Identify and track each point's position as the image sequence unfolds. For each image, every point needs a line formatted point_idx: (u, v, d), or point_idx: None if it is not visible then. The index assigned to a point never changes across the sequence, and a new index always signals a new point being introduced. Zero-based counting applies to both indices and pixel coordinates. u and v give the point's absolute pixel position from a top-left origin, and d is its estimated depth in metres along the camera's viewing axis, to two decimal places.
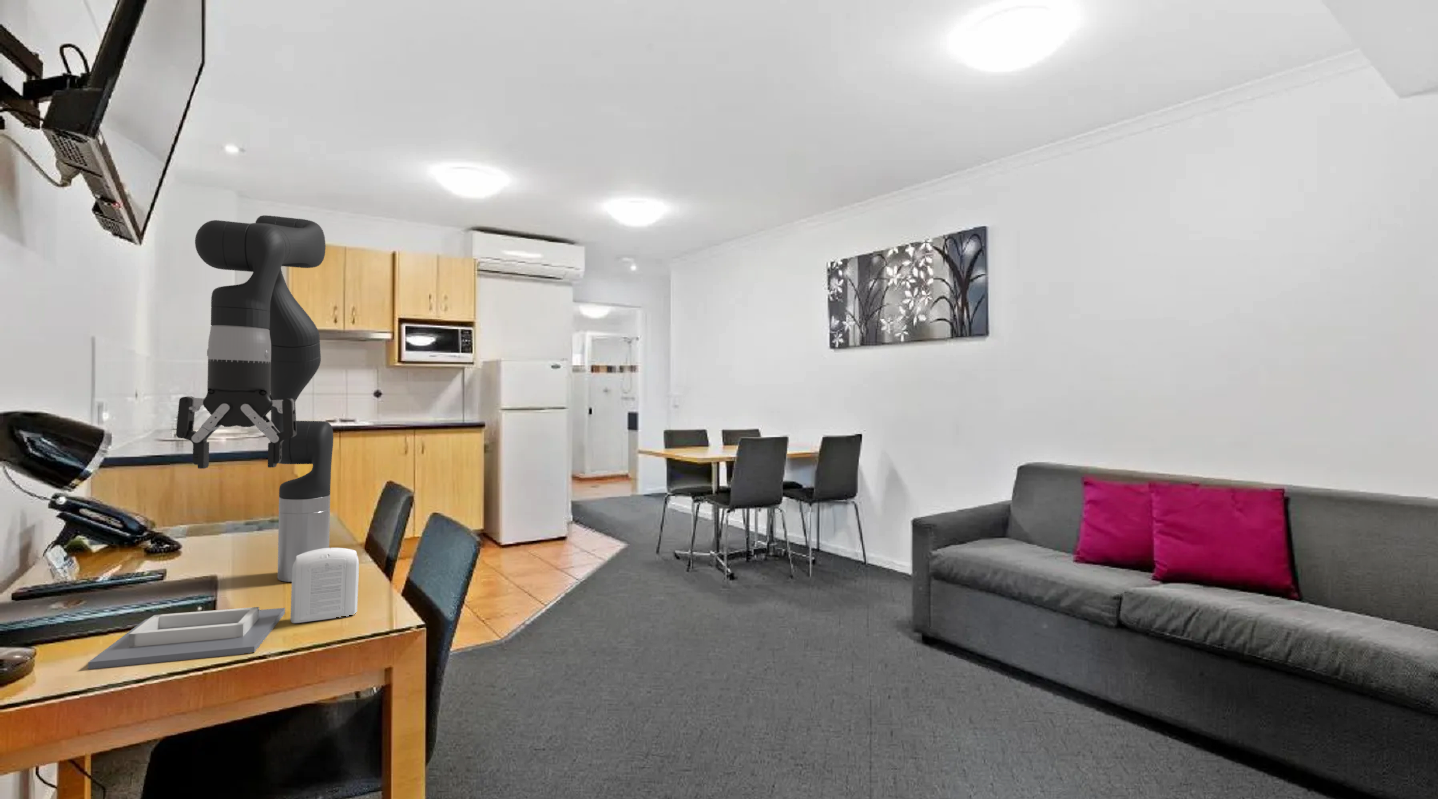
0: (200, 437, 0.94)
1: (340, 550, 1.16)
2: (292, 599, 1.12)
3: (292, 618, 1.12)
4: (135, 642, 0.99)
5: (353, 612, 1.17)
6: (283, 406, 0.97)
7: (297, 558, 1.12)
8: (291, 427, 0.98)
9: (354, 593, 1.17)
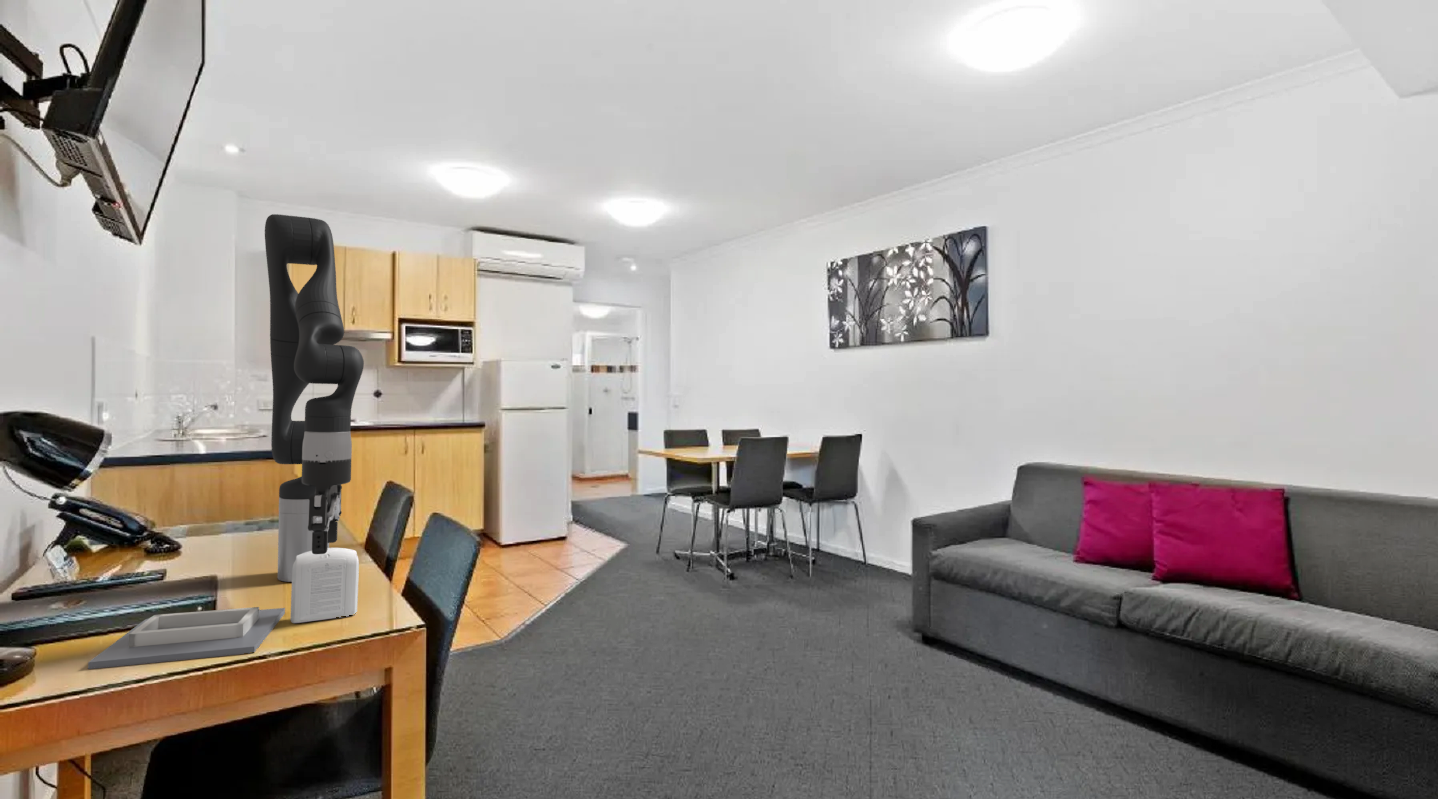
0: (328, 526, 1.12)
1: (340, 550, 1.16)
2: (292, 599, 1.12)
3: (292, 618, 1.12)
4: (135, 642, 0.99)
5: (353, 612, 1.17)
6: (340, 490, 1.21)
7: (297, 558, 1.12)
8: None
9: (354, 593, 1.17)
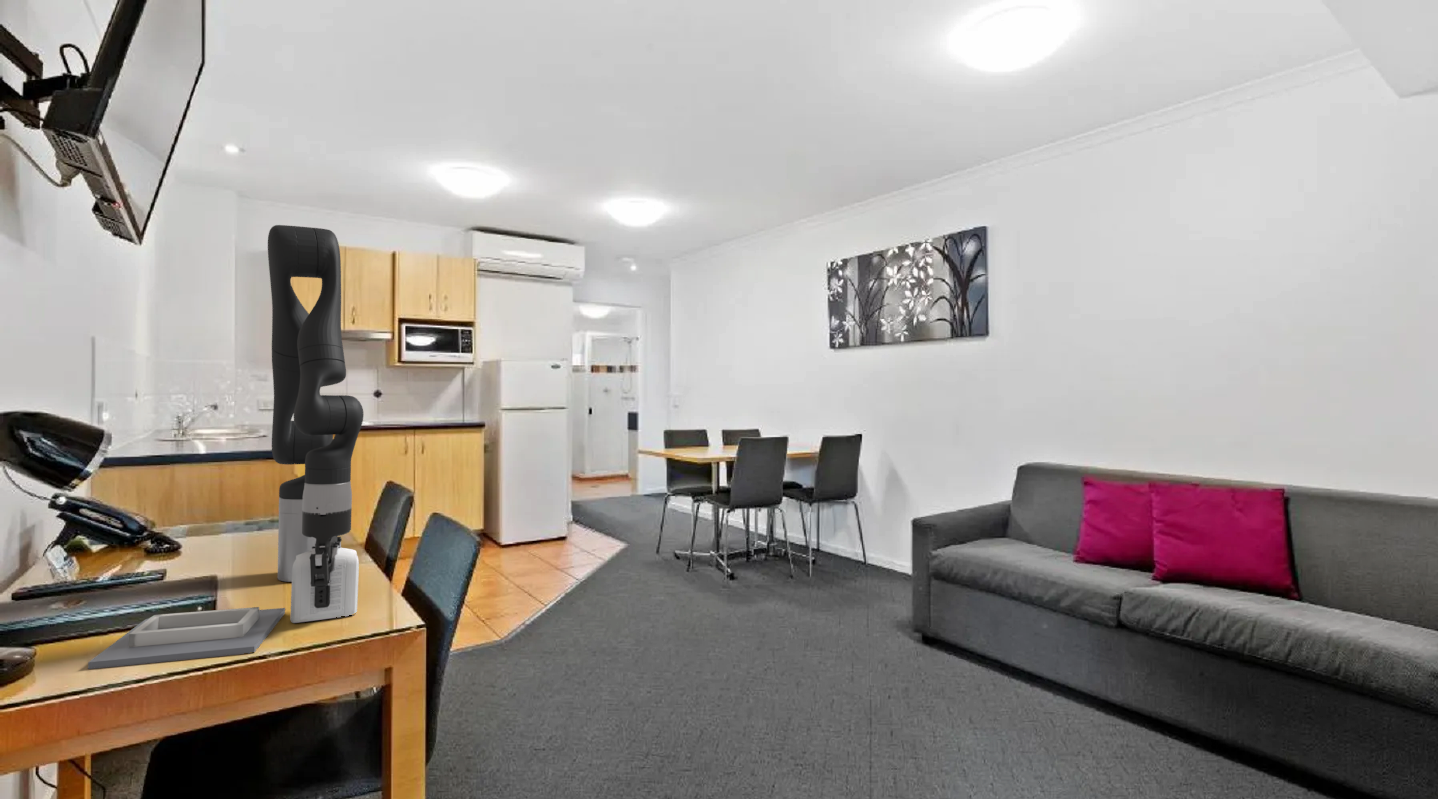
0: (330, 580, 1.14)
1: (340, 550, 1.16)
2: (292, 599, 1.12)
3: (292, 617, 1.12)
4: (135, 642, 0.99)
5: (353, 612, 1.17)
6: None
7: (297, 558, 1.12)
8: None
9: (354, 593, 1.17)
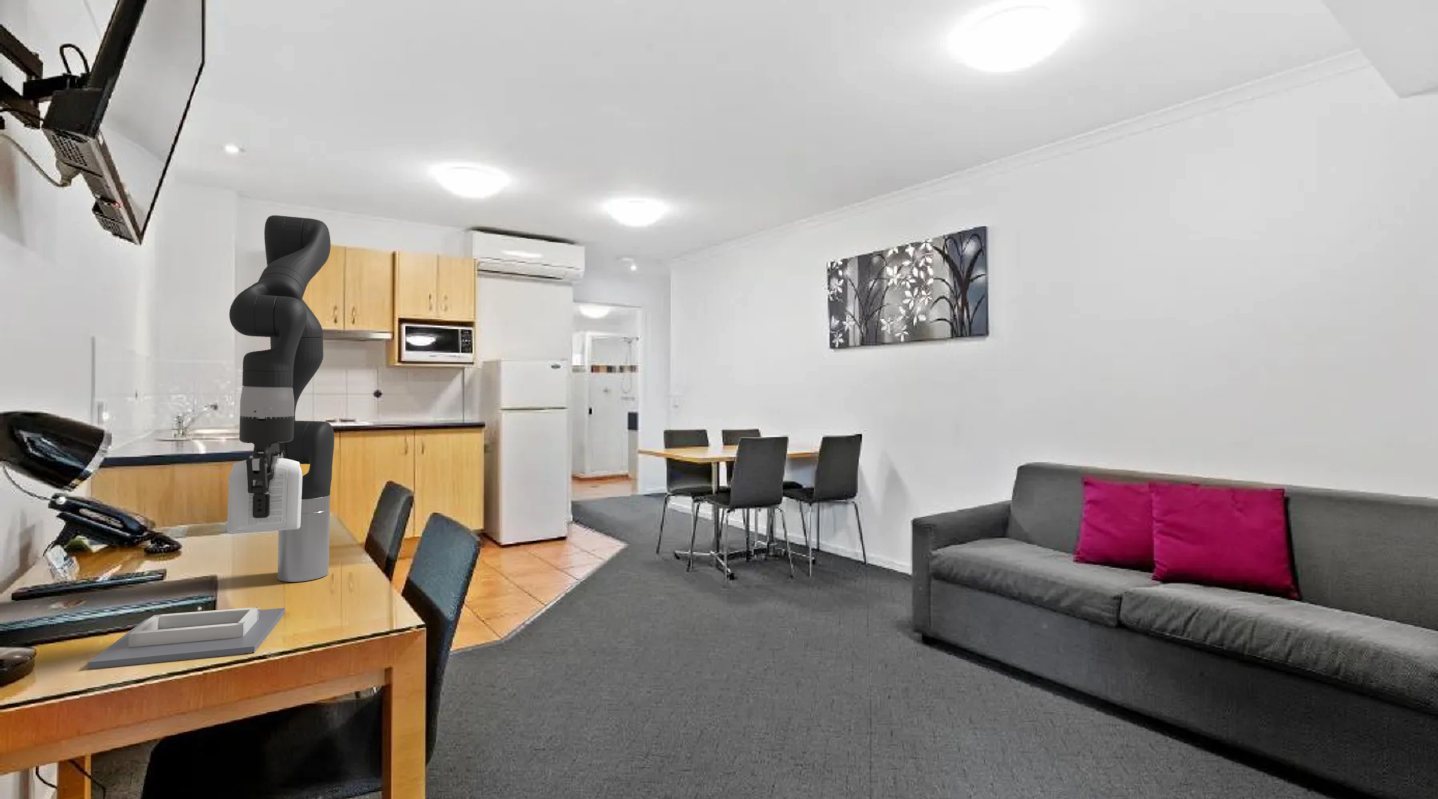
0: (270, 489, 1.08)
1: (281, 459, 1.10)
2: (229, 508, 1.06)
3: (229, 528, 1.06)
4: (135, 642, 0.99)
5: (295, 525, 1.11)
6: (282, 456, 1.15)
7: (234, 465, 1.06)
8: None
9: (297, 505, 1.11)
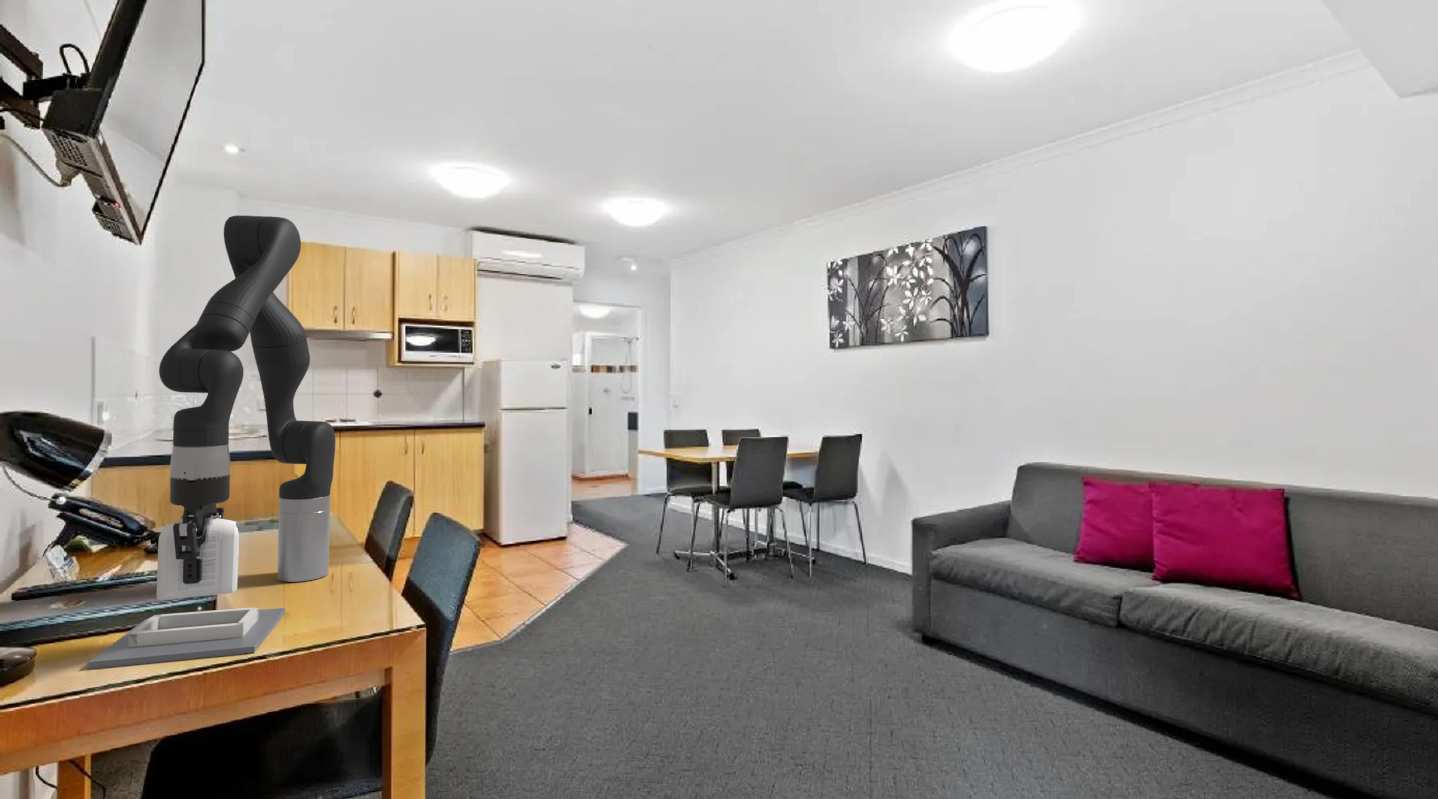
0: (202, 553, 1.03)
1: (215, 520, 1.05)
2: (158, 574, 1.01)
3: (158, 594, 1.01)
4: (135, 642, 0.99)
5: (230, 589, 1.06)
6: (221, 514, 1.10)
7: (163, 528, 1.01)
8: None
9: (232, 568, 1.06)
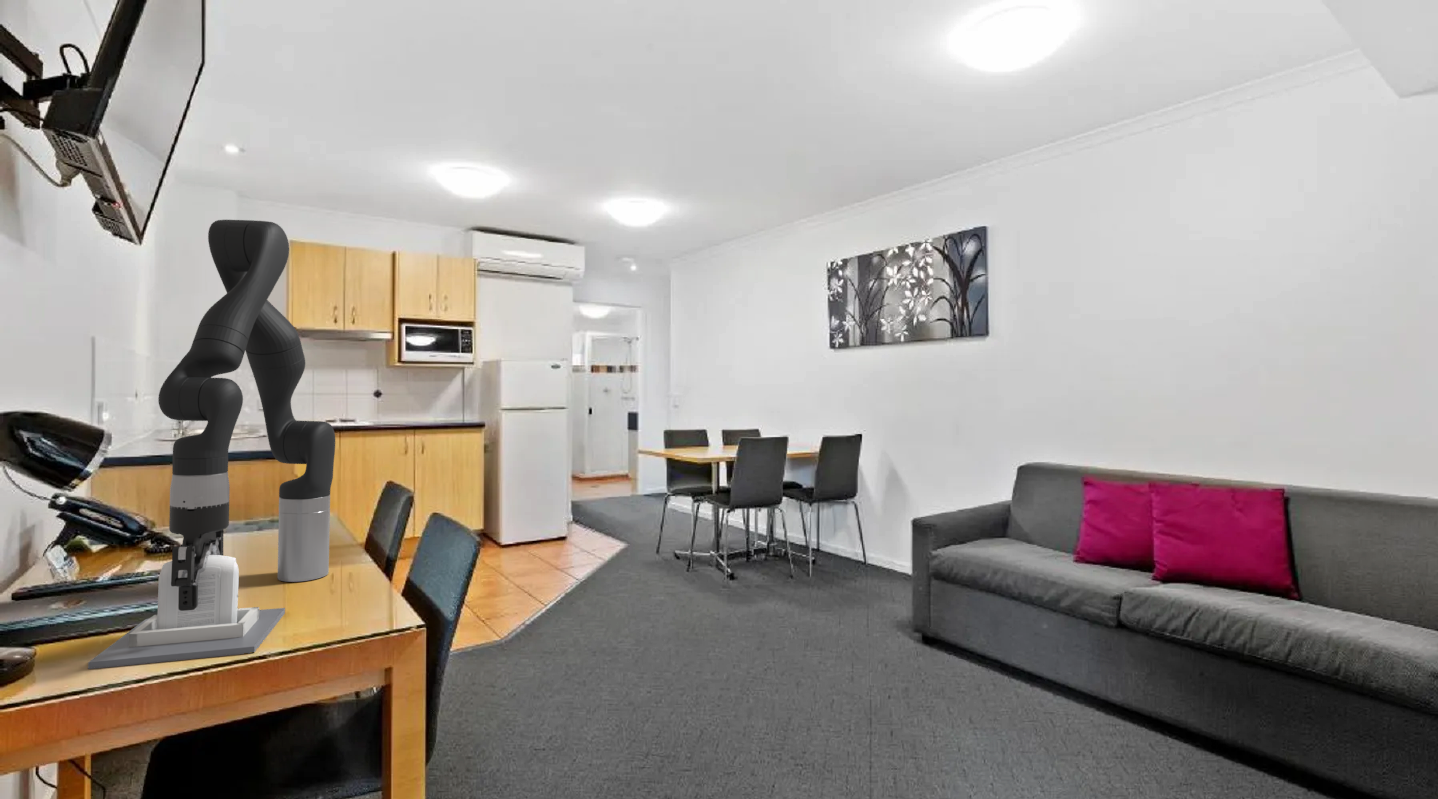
0: (197, 579, 1.01)
1: (215, 557, 1.05)
2: (158, 611, 1.02)
3: None
4: (135, 642, 0.99)
5: None
6: (221, 535, 1.10)
7: (163, 566, 1.02)
8: None
9: (231, 605, 1.06)
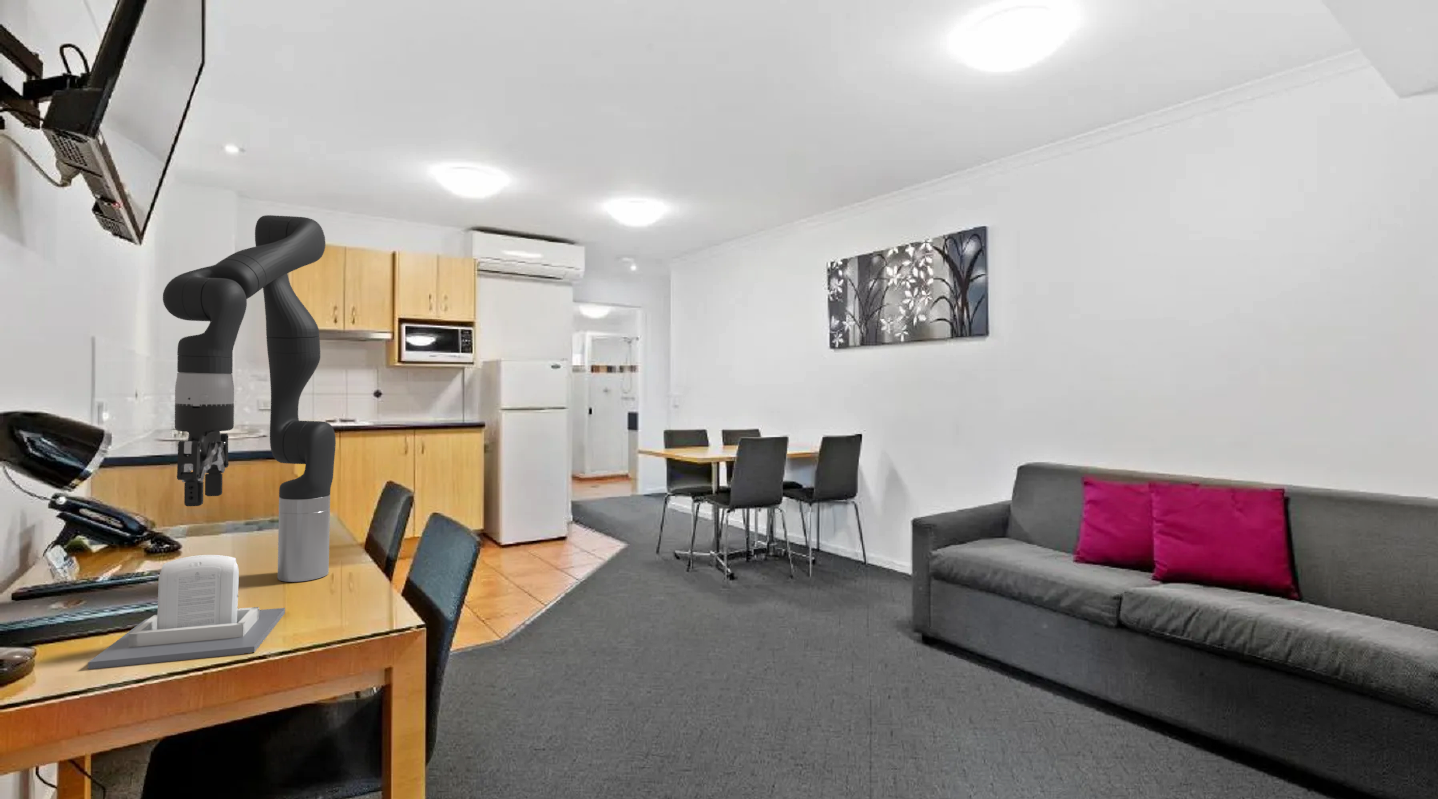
0: None
1: (215, 557, 1.05)
2: (158, 611, 1.02)
3: None
4: (135, 642, 0.99)
5: None
6: (226, 440, 1.11)
7: (163, 566, 1.02)
8: None
9: (231, 605, 1.06)
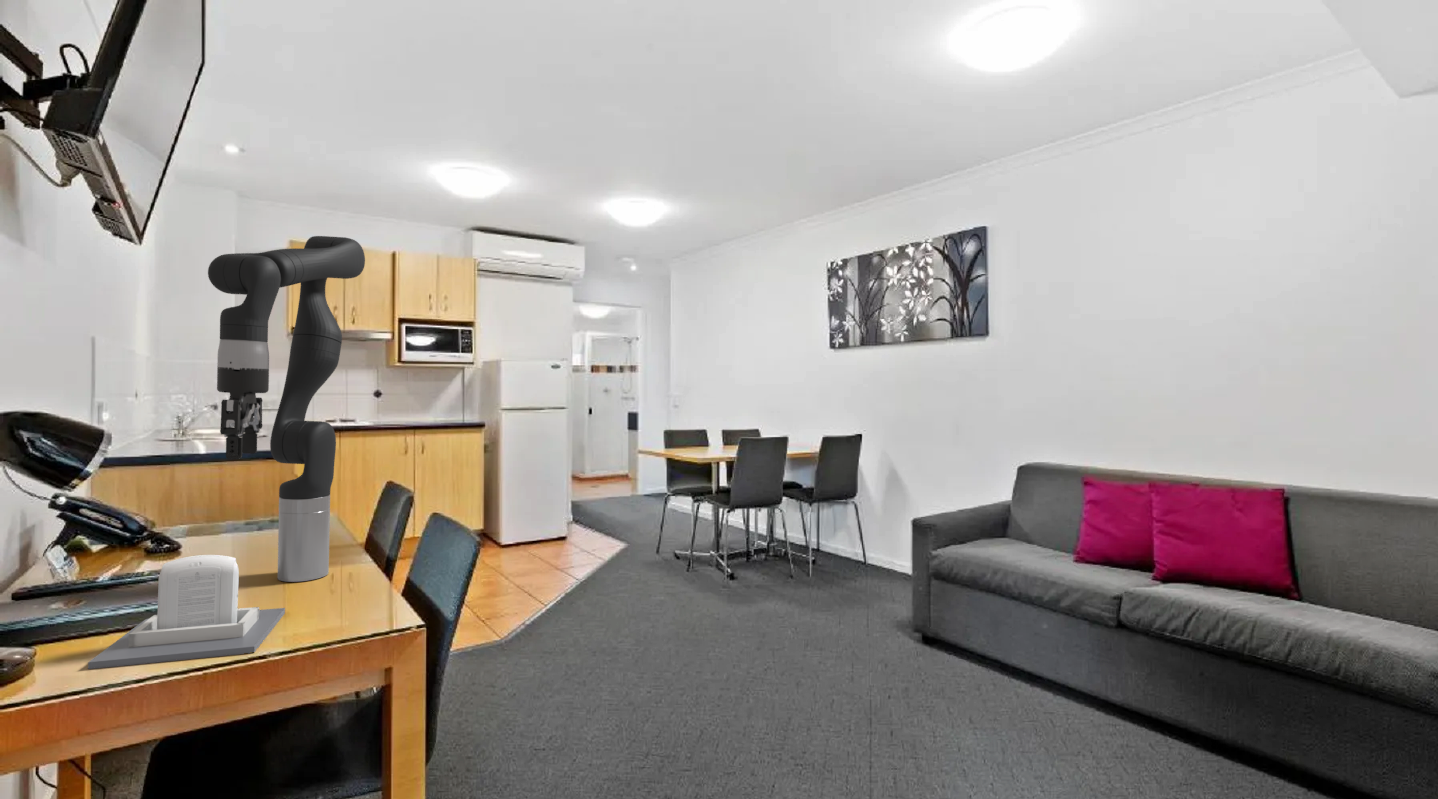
0: (242, 432, 1.14)
1: (215, 557, 1.05)
2: (158, 611, 1.02)
3: None
4: (135, 642, 0.99)
5: None
6: (260, 403, 1.23)
7: (163, 566, 1.02)
8: (261, 420, 1.24)
9: (231, 605, 1.06)
